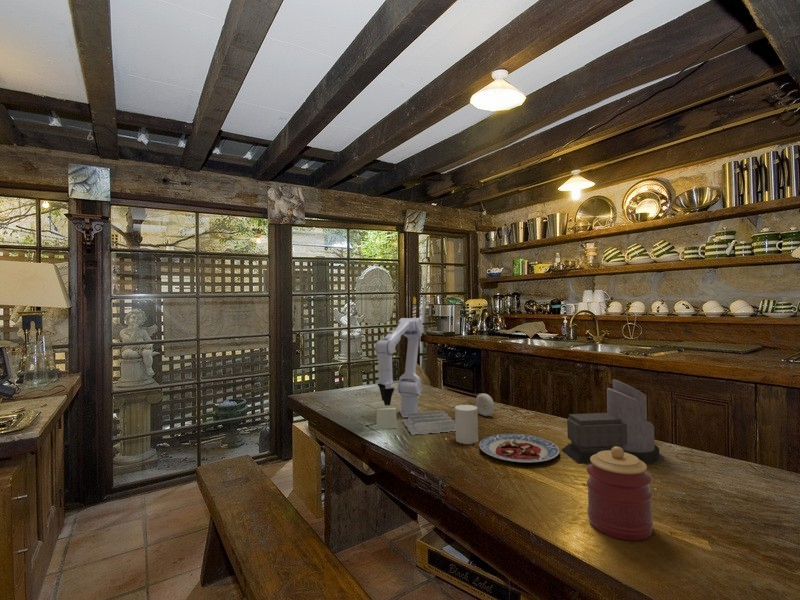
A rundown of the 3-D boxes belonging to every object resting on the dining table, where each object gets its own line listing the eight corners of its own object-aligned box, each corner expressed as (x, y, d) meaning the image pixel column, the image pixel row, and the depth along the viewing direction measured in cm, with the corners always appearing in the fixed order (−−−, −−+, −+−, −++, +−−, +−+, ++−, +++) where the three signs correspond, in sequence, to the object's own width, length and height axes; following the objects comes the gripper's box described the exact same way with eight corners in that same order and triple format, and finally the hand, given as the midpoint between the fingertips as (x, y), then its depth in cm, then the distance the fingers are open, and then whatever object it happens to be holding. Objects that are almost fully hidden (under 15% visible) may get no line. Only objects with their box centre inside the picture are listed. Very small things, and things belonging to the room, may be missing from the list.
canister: (630, 509, 98) (628, 436, 98) (667, 541, 85) (665, 456, 85) (577, 511, 97) (575, 438, 97) (606, 543, 84) (604, 458, 84)
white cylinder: (479, 443, 144) (479, 410, 144) (457, 444, 145) (456, 410, 145) (476, 436, 153) (475, 404, 153) (454, 436, 153) (453, 405, 153)
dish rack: (403, 421, 173) (402, 412, 173) (448, 418, 176) (447, 409, 176) (411, 435, 155) (410, 425, 155) (461, 431, 159) (460, 421, 159)
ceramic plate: (567, 471, 121) (566, 461, 121) (479, 466, 126) (479, 456, 126) (552, 441, 146) (552, 433, 146) (479, 438, 151) (479, 430, 151)
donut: (474, 414, 182) (473, 392, 182) (479, 412, 184) (479, 391, 184) (491, 419, 174) (490, 396, 174) (496, 417, 176) (495, 394, 176)
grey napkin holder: (642, 444, 140) (640, 374, 141) (676, 462, 125) (673, 383, 125) (557, 448, 139) (556, 376, 139) (581, 466, 123) (579, 386, 123)
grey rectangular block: (376, 428, 165) (376, 408, 165) (396, 427, 166) (395, 407, 167) (377, 429, 163) (376, 410, 163) (396, 428, 165) (396, 408, 165)
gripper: (373, 367, 171) (374, 399, 171) (377, 373, 157) (378, 408, 157) (390, 366, 173) (391, 398, 173) (395, 372, 158) (396, 406, 158)
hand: (386, 402), depth 165 cm, fingers open, 7 cm apart
